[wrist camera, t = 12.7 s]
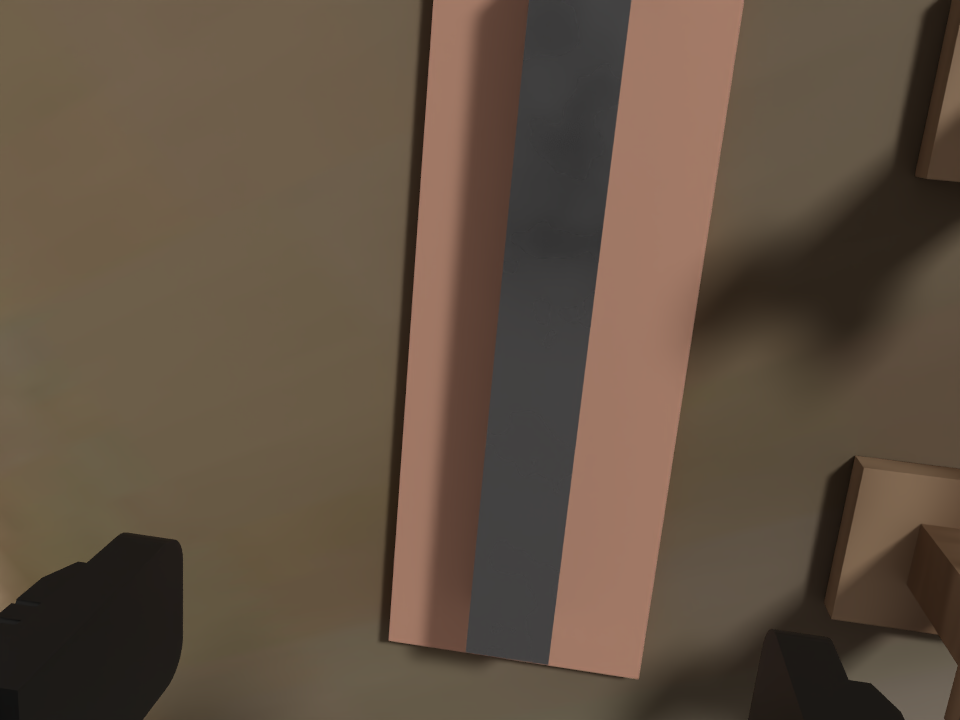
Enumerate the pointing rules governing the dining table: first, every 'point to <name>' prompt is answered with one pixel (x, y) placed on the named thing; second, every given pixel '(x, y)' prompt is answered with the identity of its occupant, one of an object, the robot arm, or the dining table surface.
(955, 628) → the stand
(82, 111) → the dining table surface
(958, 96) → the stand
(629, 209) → the mat
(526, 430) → the rail
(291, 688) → the dining table surface
